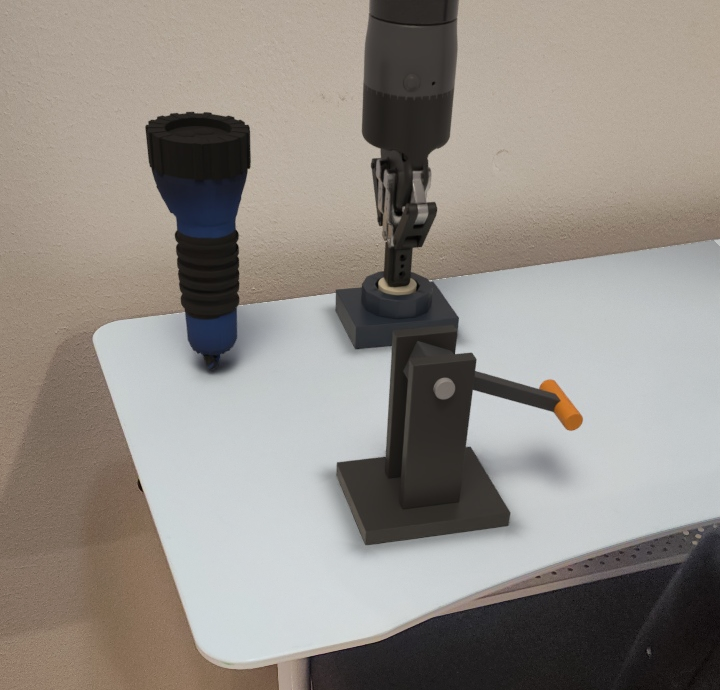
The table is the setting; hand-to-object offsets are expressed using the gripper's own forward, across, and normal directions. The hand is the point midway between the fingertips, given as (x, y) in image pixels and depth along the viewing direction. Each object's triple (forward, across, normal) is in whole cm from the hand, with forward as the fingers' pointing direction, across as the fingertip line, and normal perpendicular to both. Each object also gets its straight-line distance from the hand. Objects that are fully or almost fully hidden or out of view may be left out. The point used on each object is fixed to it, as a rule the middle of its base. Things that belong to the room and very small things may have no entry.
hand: (396, 283), depth 94 cm
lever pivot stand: (+4, -28, +6) cm, 29 cm away
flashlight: (+4, -4, +18) cm, 19 cm away
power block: (+4, 0, 0) cm, 4 cm away
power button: (+2, 0, 0) cm, 2 cm away
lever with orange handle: (-4, -28, +2) cm, 28 cm away
